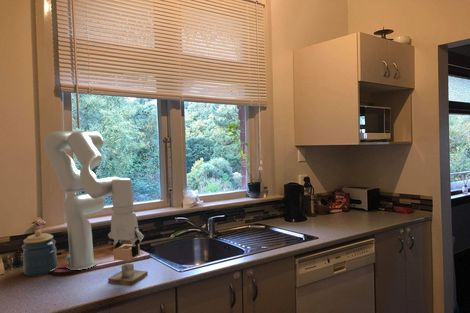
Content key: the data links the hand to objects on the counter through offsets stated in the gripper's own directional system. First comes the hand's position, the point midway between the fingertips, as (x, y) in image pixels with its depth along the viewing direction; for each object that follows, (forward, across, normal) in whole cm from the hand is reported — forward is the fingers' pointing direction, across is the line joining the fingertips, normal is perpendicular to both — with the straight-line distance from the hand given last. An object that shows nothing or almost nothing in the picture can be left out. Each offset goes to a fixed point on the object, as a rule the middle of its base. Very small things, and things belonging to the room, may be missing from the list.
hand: (127, 254), depth 143 cm
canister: (+9, -44, -2) cm, 45 cm away
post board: (+10, 0, 0) cm, 10 cm away
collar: (+1, 0, 0) cm, 1 cm away
